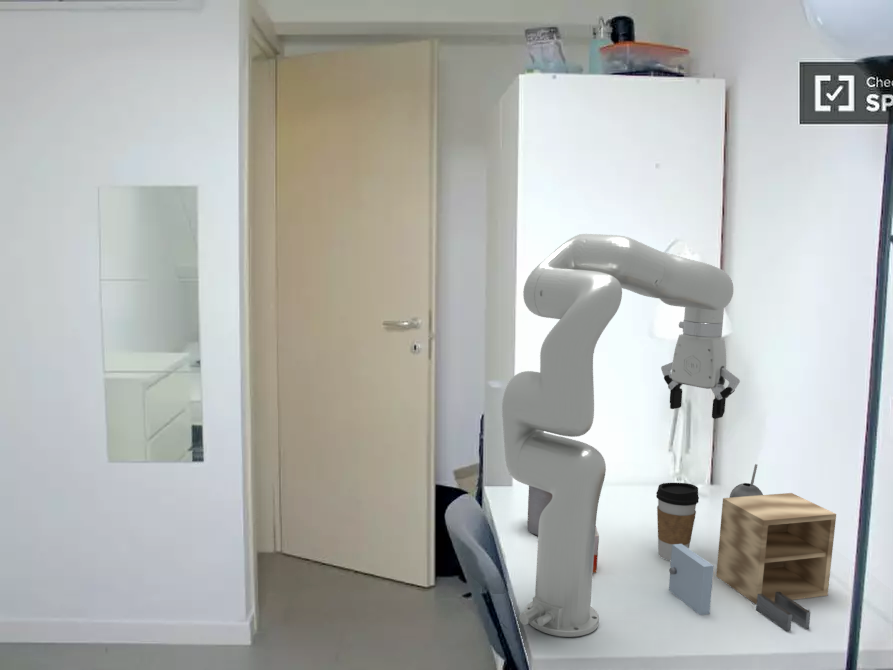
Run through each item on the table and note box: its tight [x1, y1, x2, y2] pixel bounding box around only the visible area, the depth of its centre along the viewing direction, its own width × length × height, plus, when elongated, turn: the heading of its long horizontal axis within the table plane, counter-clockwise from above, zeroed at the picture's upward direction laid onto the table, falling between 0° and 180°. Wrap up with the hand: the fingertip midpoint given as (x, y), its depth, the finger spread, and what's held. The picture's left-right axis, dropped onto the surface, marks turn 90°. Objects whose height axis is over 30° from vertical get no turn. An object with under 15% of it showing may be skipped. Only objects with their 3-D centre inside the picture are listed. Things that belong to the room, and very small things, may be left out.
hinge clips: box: [755, 592, 812, 632], centre depth 144 cm, size 8×5×3 cm, turn 17°
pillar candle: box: [526, 485, 552, 536], centre depth 180 cm, size 10×10×15 cm
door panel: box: [668, 544, 714, 616], centre depth 149 cm, size 10×3×9 cm, turn 17°
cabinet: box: [715, 492, 837, 605], centre depth 156 cm, size 12×16×16 cm
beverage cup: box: [728, 463, 764, 498], centre depth 170 cm, size 7×7×20 cm
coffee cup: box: [655, 482, 700, 561], centre depth 169 cm, size 8×8×15 cm
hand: (695, 412), depth 167 cm, fingers open, 9 cm apart
